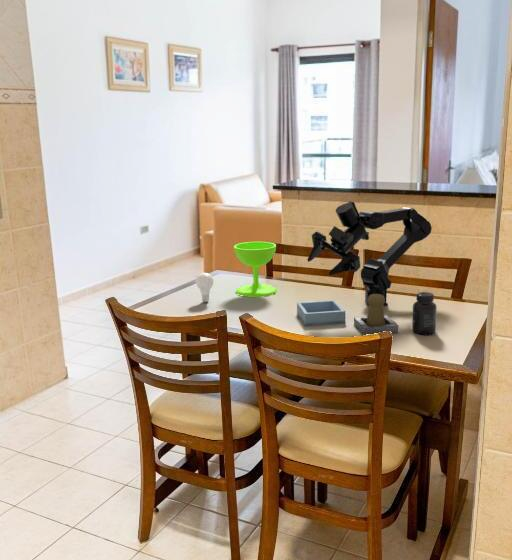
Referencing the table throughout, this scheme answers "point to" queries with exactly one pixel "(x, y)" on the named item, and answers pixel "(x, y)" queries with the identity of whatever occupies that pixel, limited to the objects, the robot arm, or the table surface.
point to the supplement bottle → (424, 314)
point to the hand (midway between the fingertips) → (318, 267)
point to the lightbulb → (204, 285)
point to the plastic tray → (320, 313)
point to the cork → (375, 310)
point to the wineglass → (255, 266)
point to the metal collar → (375, 326)
